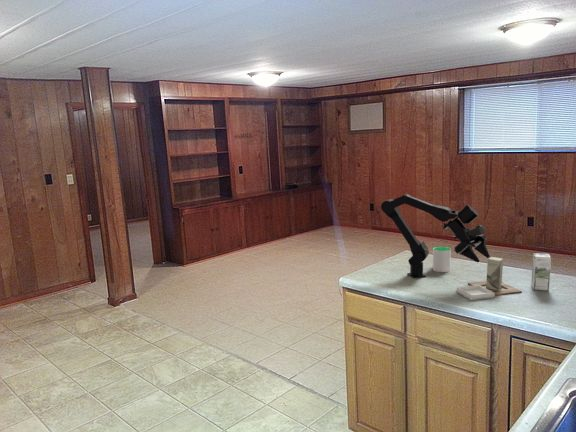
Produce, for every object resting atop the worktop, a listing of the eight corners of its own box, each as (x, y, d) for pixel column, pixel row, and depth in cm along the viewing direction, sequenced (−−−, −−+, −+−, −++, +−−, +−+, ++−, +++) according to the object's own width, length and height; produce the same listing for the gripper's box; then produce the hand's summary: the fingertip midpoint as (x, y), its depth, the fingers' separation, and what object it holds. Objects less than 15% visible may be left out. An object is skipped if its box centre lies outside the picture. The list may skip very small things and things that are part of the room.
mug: (428, 265, 231) (429, 245, 229) (445, 265, 230) (445, 244, 228) (435, 272, 219) (435, 251, 217) (452, 272, 218) (453, 250, 217)
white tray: (456, 292, 190) (456, 287, 190) (479, 289, 192) (479, 284, 192) (470, 300, 181) (471, 295, 180) (494, 297, 182) (494, 292, 182)
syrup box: (546, 287, 193) (548, 253, 190) (549, 291, 187) (551, 256, 185) (531, 286, 195) (532, 252, 192) (533, 290, 189) (535, 256, 187)
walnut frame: (467, 284, 200) (467, 282, 200) (496, 281, 203) (496, 279, 202) (490, 296, 185) (490, 294, 184) (521, 292, 187) (521, 291, 187)
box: (485, 288, 194) (486, 258, 192) (489, 285, 197) (490, 256, 195) (498, 290, 190) (499, 260, 188) (502, 288, 193) (503, 258, 191)
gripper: (461, 222, 190) (487, 252, 184) (483, 216, 203) (507, 244, 196) (444, 238, 198) (468, 268, 191) (465, 231, 210) (489, 259, 203)
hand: (484, 259), depth 195 cm, fingers open, 9 cm apart
